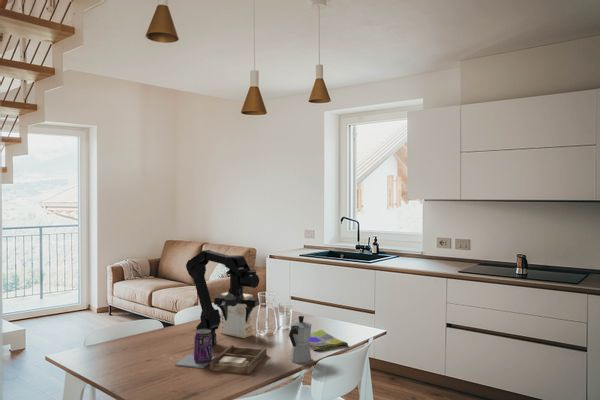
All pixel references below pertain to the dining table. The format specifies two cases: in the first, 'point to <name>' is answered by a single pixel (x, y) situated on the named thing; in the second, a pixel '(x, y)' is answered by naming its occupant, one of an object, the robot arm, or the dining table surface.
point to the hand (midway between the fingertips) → (236, 321)
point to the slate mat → (192, 362)
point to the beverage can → (203, 345)
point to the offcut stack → (233, 361)
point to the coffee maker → (300, 341)
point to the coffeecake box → (237, 320)
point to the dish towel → (324, 341)
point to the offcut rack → (241, 350)
